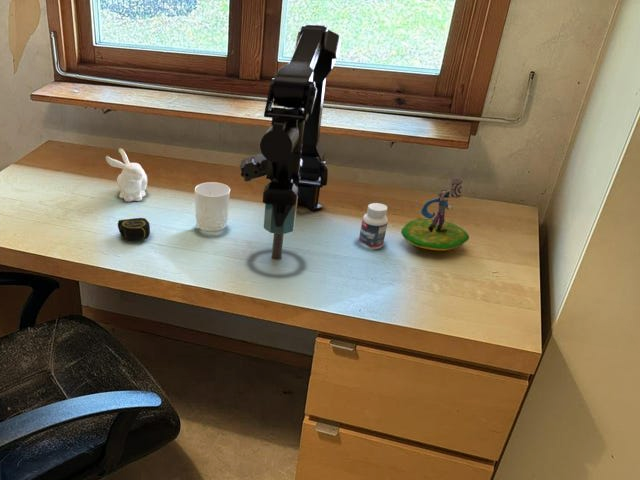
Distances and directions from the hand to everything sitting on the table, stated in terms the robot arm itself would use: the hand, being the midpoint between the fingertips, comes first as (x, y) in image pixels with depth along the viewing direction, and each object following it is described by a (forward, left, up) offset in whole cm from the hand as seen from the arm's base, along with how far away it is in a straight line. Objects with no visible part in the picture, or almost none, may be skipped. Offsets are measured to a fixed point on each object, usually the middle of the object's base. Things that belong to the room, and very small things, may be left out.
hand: (279, 219), depth 139 cm
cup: (0, 0, -2) cm, 2 cm away
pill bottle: (-23, +3, -10) cm, 25 cm away
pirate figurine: (-34, +10, -10) cm, 37 cm away
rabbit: (+12, -46, -10) cm, 48 cm away
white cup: (+4, -20, -10) cm, 23 cm away
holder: (0, 0, -10) cm, 10 cm away
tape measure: (+21, -26, -10) cm, 35 cm away
